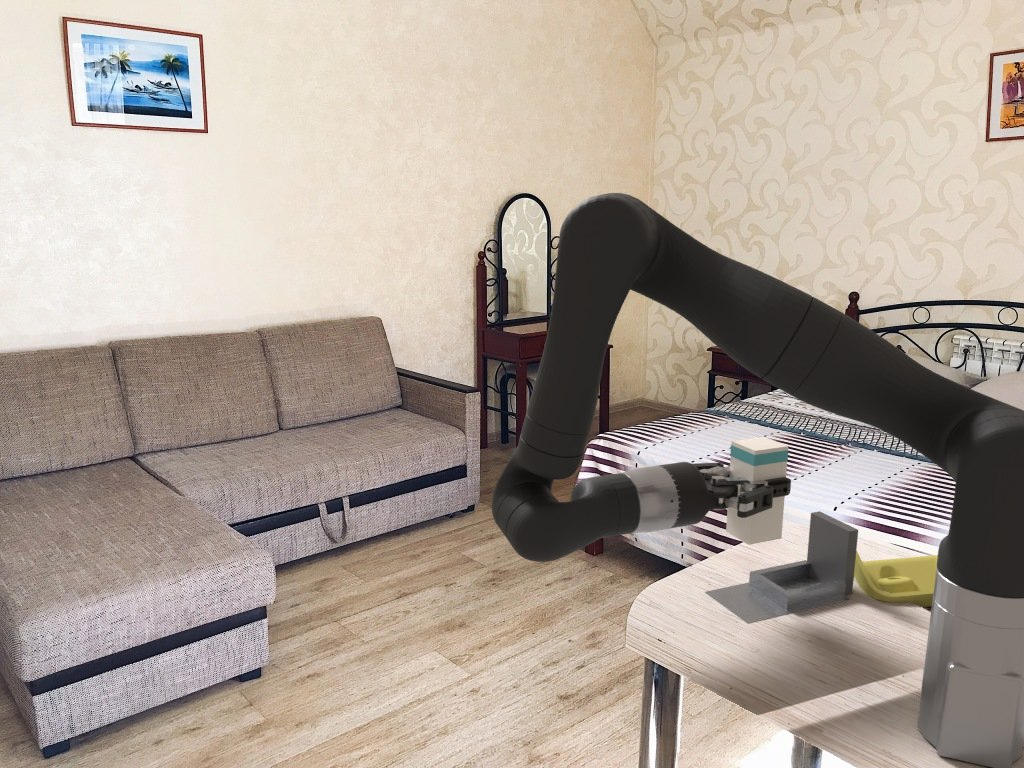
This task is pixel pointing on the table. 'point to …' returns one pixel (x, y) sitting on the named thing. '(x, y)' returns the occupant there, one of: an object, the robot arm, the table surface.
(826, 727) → the table surface
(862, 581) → the plastic component
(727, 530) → the block
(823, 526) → the end stop
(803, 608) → the rail plate
